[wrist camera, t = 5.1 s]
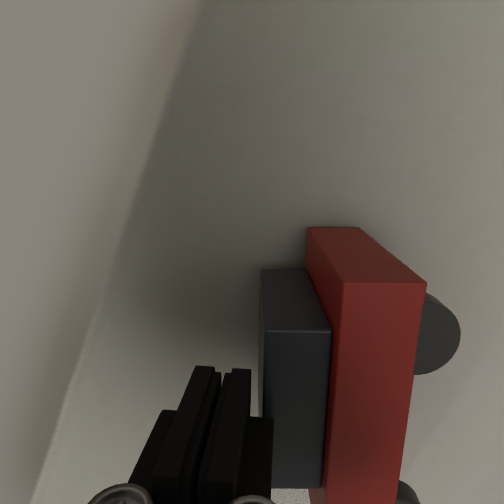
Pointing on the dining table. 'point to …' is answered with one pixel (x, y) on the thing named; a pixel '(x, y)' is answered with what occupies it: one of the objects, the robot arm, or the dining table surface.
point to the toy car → (345, 366)
